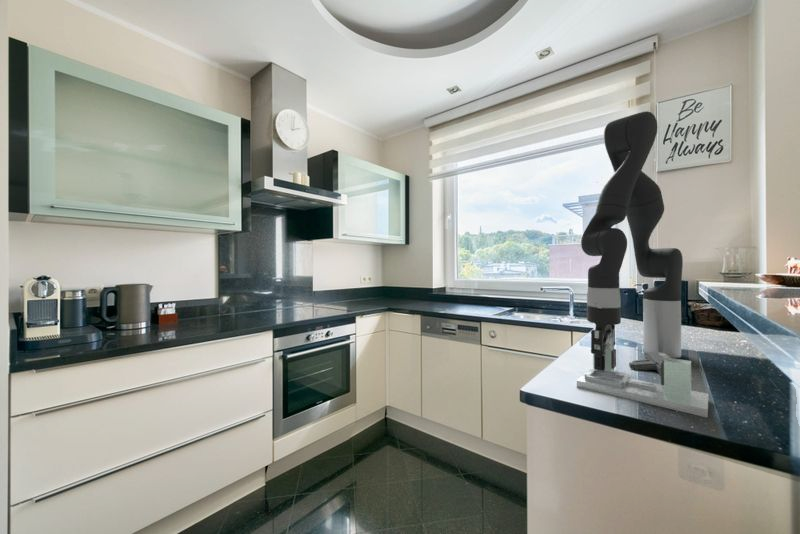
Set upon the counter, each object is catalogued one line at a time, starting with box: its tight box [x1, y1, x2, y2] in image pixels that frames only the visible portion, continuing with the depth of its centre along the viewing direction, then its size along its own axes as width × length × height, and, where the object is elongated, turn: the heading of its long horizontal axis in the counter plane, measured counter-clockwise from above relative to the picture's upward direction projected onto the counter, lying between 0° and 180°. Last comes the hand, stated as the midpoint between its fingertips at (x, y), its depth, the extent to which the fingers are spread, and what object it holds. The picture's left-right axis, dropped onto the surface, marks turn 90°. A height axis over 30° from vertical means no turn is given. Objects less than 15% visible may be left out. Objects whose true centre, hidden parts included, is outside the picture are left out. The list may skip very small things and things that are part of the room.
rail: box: [576, 357, 709, 418], centre depth 70 cm, size 10×22×8 cm, turn 45°
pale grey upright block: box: [592, 345, 617, 373], centre depth 84 cm, size 4×4×7 cm
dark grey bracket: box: [628, 352, 670, 376], centre depth 87 cm, size 4×16×10 cm
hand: (603, 366), depth 85 cm, fingers open, 8 cm apart
